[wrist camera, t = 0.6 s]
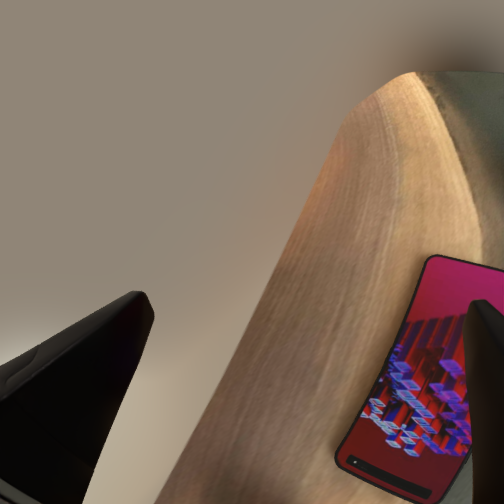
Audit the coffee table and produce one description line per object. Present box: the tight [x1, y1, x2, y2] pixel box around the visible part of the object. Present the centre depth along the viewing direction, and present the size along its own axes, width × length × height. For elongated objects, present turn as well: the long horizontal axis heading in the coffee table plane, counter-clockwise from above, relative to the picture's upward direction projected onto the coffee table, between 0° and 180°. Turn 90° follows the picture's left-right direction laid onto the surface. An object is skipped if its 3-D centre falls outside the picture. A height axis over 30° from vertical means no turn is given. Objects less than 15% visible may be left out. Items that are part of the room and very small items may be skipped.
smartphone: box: [334, 254, 504, 504], centre depth 15 cm, size 8×1×15 cm
